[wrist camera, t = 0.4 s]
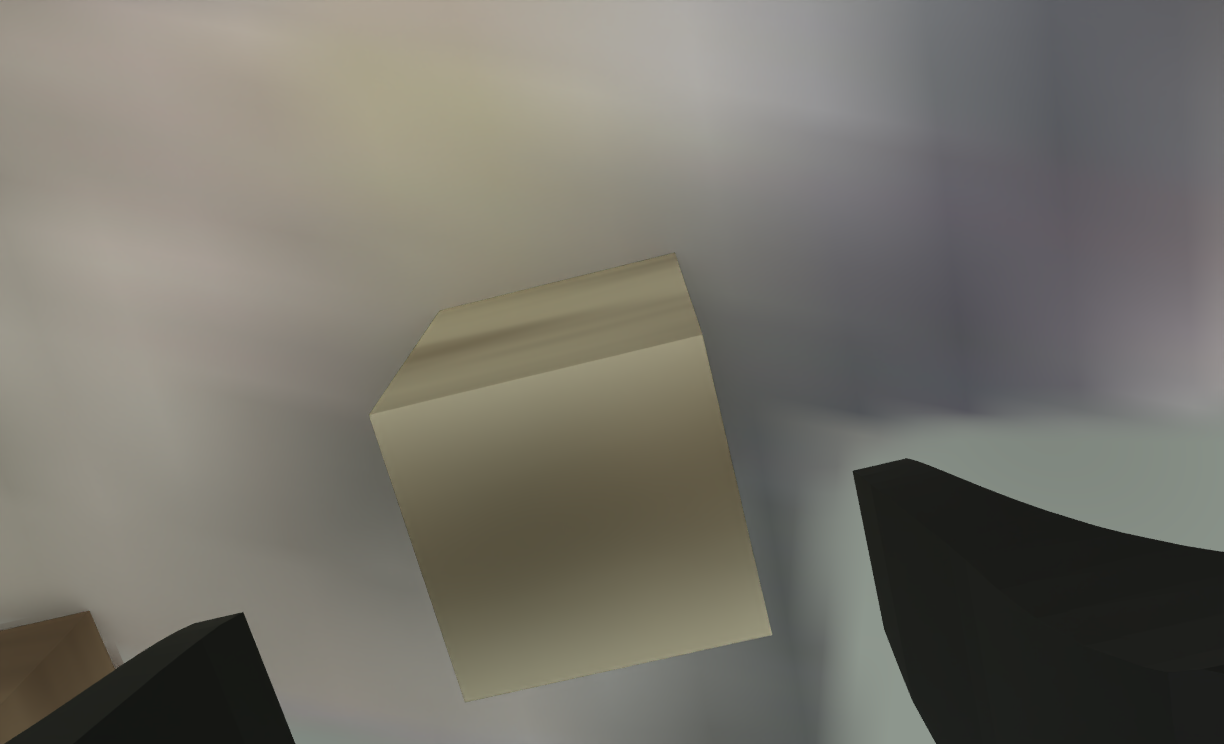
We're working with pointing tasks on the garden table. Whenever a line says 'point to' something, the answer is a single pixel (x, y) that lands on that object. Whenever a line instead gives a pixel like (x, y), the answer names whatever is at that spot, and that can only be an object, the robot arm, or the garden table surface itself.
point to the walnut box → (47, 668)
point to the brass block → (570, 481)
